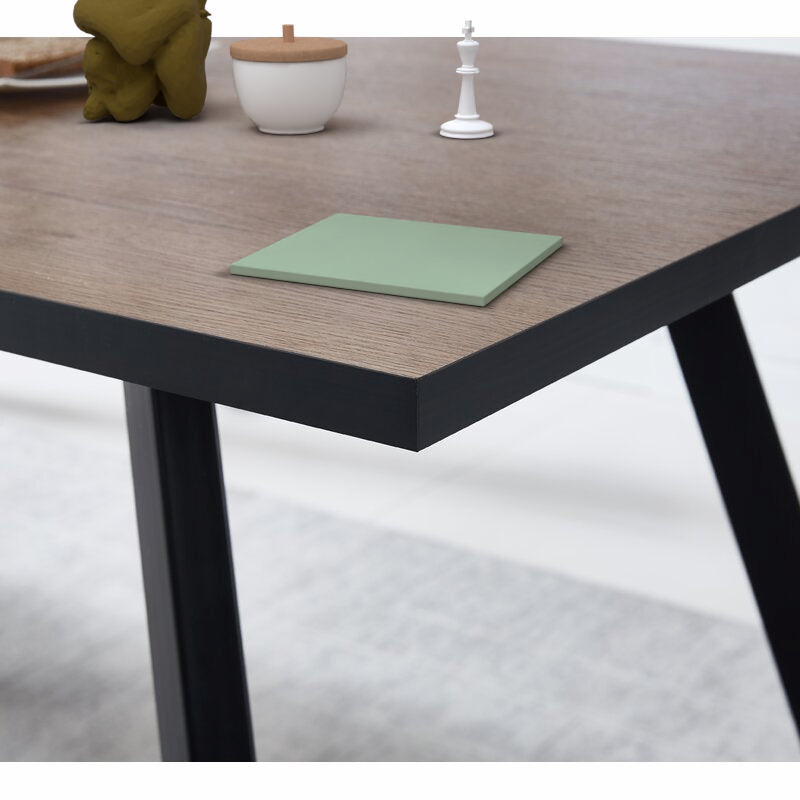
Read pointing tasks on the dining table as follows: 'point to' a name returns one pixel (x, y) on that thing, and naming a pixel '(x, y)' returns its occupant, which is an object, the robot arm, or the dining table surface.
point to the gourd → (144, 56)
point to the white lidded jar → (289, 81)
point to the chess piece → (467, 95)
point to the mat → (402, 258)
